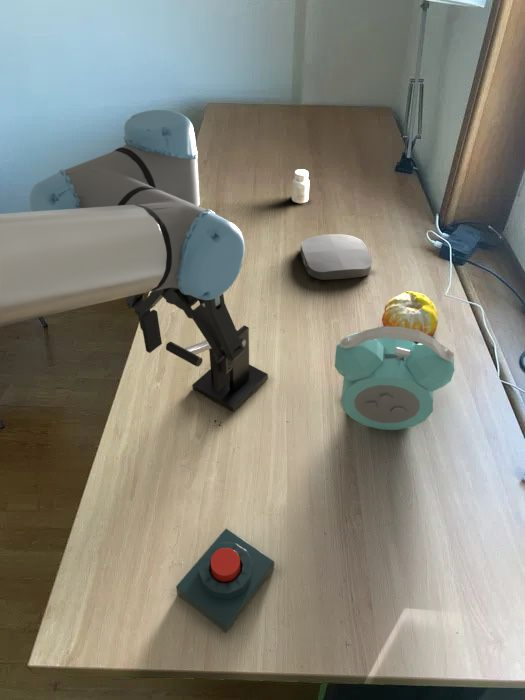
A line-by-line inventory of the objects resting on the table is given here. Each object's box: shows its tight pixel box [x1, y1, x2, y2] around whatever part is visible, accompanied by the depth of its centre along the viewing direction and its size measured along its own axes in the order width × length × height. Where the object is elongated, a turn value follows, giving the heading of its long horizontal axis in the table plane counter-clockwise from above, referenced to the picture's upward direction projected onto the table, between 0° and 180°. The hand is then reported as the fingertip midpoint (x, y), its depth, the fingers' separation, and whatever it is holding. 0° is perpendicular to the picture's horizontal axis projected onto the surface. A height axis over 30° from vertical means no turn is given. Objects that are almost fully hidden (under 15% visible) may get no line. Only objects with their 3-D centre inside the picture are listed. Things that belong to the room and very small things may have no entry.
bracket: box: [192, 324, 269, 413], centre depth 94 cm, size 10×9×13 cm
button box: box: [175, 527, 275, 634], centre depth 71 cm, size 10×8×4 cm
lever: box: [165, 328, 239, 368], centre depth 87 cm, size 13×6×2 cm, turn 144°
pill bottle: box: [291, 168, 310, 204], centre depth 147 cm, size 4×4×8 cm
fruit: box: [381, 291, 439, 344], centre depth 109 cm, size 11×10×8 cm
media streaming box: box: [300, 233, 373, 281], centre depth 127 cm, size 15×15×3 cm
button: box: [211, 548, 240, 582], centre depth 70 cm, size 4×4×2 cm
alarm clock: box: [334, 325, 455, 431], centre depth 87 cm, size 17×10×20 cm, turn 80°
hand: (186, 365), depth 85 cm, fingers open, 13 cm apart
